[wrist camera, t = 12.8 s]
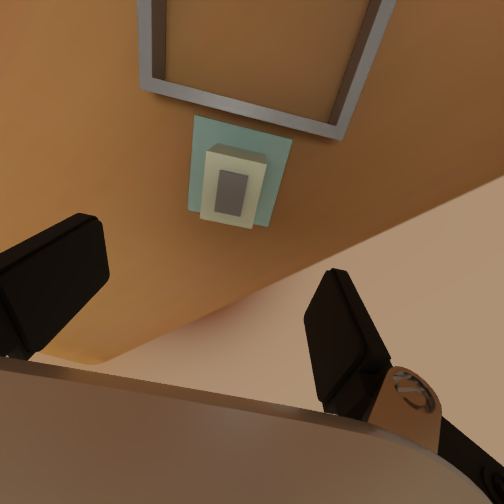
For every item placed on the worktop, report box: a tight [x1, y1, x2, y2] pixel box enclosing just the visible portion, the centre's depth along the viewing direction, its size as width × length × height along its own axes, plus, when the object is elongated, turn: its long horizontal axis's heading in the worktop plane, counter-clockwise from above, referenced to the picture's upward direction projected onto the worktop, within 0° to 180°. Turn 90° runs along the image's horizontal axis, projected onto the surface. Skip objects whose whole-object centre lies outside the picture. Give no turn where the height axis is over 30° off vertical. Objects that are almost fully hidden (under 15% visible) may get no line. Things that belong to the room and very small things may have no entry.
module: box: [200, 143, 267, 229], centre depth 22 cm, size 5×6×6 cm
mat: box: [187, 115, 292, 227], centre depth 25 cm, size 10×10×1 cm
